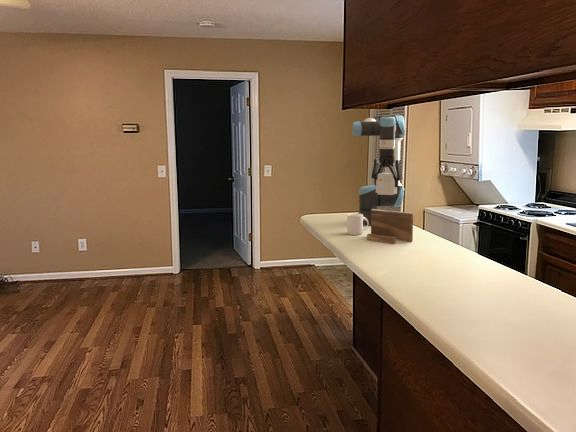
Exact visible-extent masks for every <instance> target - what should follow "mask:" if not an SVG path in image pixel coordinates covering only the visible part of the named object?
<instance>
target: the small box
mask: <svg viewBox="0 0 576 432" xmlns="http://www.w3.org/2000/svg"><path fill="white" fill-rule="evenodd" d="M393 181H394V178H393V174H392V173H385V172H382V173H379V174H378V183H377V194H379V195H393Z"/></svg>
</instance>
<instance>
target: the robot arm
mask: <svg viewBox="0 0 576 432" xmlns="http://www.w3.org/2000/svg"><path fill="white" fill-rule="evenodd" d="M404 117H405V116H403V115H397V114H395V115H394V114H393V115H390V114H389V115H374V116H370V117H367V118H365V119H364V120H362V121H359V120H358V121H354V122H353V123H352V135H353V136H354V137H379V155H378V156H379V159H378V158H374V159H373V168H372V171H371V172H372V173H371V179H373V180H374V184H370V185H363V186H361V187H360V188H359V190H358V193H359V194H358V196H359V197H358V213H357V214H363V217H365V218H366V219H367V220H368V223H369V224H368V223H367V221H366V220H363V226H367V225H368V226H371V209H379V207H380V208H381V207H383V208H386V207H387V208H388V207H389V208H399V207H401V206H402V205H403V201H404V194H405V187H403V184H402V183H401V182H400V181H402V180H403V174H402V168H401V143H402V140H403V139H404V136H406V134H407V133H406V124H405V118H404ZM383 170H384V173H392V174H393V178H394V181H393V195H379V194H377V183H378V174H379V173H383Z"/></svg>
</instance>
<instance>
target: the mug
mask: <svg viewBox="0 0 576 432" xmlns="http://www.w3.org/2000/svg"><path fill="white" fill-rule="evenodd" d="M346 216H347V218H346V221H347V222H346V232H347V235H349V234H350V235H351V236H360V235H363V233H364V232H365V231H366V230H367V229H368V227H369V225H366V227H364V225H363V220H366V221H367V223H368V220H367V219H366V218H365V217H363V214H358V213H347V215H346ZM368 224H369V223H368Z"/></svg>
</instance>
